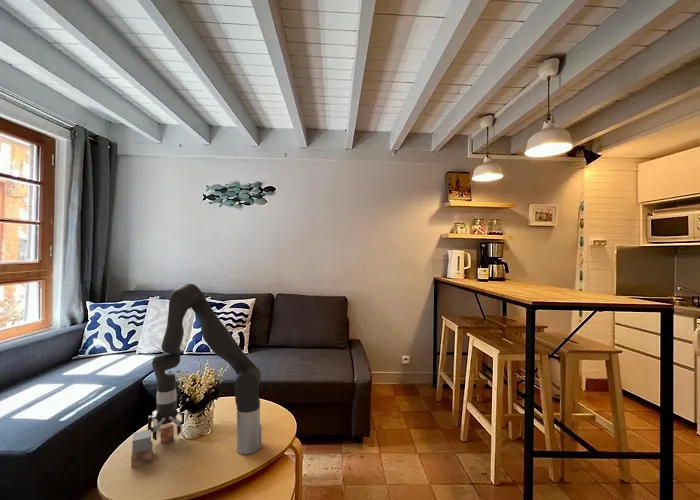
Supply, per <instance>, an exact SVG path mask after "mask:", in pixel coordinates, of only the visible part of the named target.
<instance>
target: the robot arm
mask: <svg viewBox="0 0 700 500" xmlns="http://www.w3.org/2000/svg"><path fill="white" fill-rule="evenodd" d="M190 309H191V310H192V311H193V312H194V314H195V315H196V316H197V318H198V321H199V325H200V326H199V327H200V331H201V335H202V338H203V340H204V342H205V343H206V344H207V346H208V347H209V349H210V350H211V351H212V352H213V353H214V354H215V355H217V357H219V358H221V359H222V360H223V361H225V362H227V363H228V364H229V365H230V367H231V368H232V369H233V371H234V372H235V374H236V375H237V376H236V378H235V382H234V395H235V396H234V397H235V399H234V400H235V405H236V452H237V453H239V454H240V455H246V456H247V455H252V454H254V453H256V452H258V451H259V450H262V424H261V399H260V395H259V394H260V391H259V386H260V385H259V384H260V382H261V379H262V373H261V371H260V369H259V368H258V367H257V365H255V363H254V362H253V361H252V360H251V359H250V358H249V357H248V356H247V355H246V354H245V352H244V351H243V349H242V348H241V346H240V345H239V343H238V342H236V340H235V338H234V337H233V336H232V334H231V333H230V332H229V330H228V329H227V328H226V326H225V325H224V324H223V323H222V321H221V319H220V318H219V317H218V315H217V314H216V313H215V311H214V310H213V308H212V307H211V305H210V304H209V302H208V300H207V299H206V297H205V294H204V293H203V291H202V290H201V289H200V288H199V286H197V285H196V284H193V283H187V284H184V285H182V286H180V287H179V288H178V287H177V288H176V289H174V290H173V291H172V292H171V294H170V296H169V302H168V314H167V324H166V329H165V332H164V336H163V339H162V343H161V351H163V352H164V353H161V354H158V355H155V356H154V358H153V359H152V361H151V366H152V369H153V371H154V376H155V379H156V384H157V385H156V387H157V388H156V410H157V414H156V415H155V416H152V415H148V417H147V418H148V419H147V430H150V429H151V433H152V439H153V440H154V441H158V439H157V434H158V433H157V431H158V430H157V429H158V428H159V427H160V425H161V424H163V425H164V424H167V423H168V424H172V422H173V424H175V425H176V433H177V434H176V435H177V436H178V435H179V436H180V434H181V433H182V425H185V424H184V413H181V412H180V410H181V409H180V410H178V409H177V404H178V403H177V398H178V396H177V387H176V385H177V383H176V382H177V381H176V380H177V377H176V375H175V374H174V373H166V371H168V370H171V369H174V368H176V367H177V366H178V365H179V364H180V362H181V345H182V341H183V338H184V333H185V331H184V329H185V328H184V326H183V325H184V324H183V321H184V318H185V316H186V313H187V312H188V310H190ZM178 414H179V416H181V420H179V419H178V418H177V416H178ZM155 418H156V420H157V422H156V424H155V425H153V426H152V423H153V421H154V419H155Z"/></svg>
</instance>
